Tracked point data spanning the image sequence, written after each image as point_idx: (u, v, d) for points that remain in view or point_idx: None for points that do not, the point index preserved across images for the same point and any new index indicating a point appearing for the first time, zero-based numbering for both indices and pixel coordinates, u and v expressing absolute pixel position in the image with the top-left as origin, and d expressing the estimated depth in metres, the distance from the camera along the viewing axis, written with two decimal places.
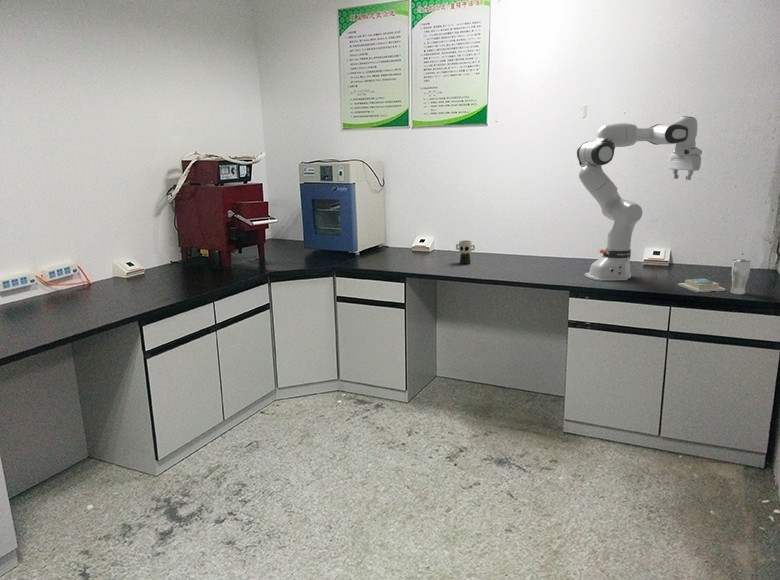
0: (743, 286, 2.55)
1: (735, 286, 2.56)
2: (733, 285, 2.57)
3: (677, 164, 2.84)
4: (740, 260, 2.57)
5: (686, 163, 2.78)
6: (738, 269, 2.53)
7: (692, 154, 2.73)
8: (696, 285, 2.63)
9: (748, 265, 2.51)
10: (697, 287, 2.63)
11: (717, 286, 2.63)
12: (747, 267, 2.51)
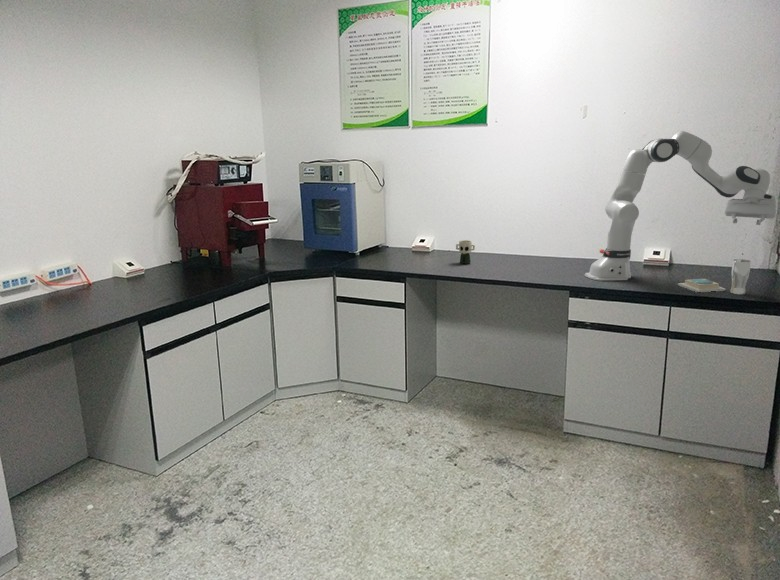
0: (743, 286, 2.55)
1: (735, 286, 2.56)
2: (733, 285, 2.57)
3: (745, 208, 2.65)
4: (740, 260, 2.57)
5: (762, 208, 2.61)
6: (738, 269, 2.53)
7: (774, 200, 2.60)
8: (696, 285, 2.63)
9: (748, 265, 2.51)
10: (697, 287, 2.63)
11: (717, 286, 2.63)
12: (747, 267, 2.51)
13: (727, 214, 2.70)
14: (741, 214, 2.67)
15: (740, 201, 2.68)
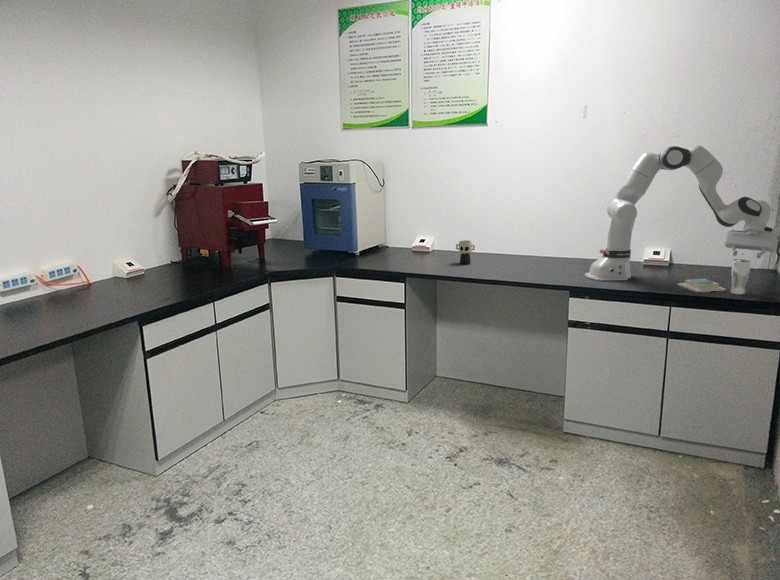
0: (743, 286, 2.55)
1: (735, 286, 2.56)
2: (733, 285, 2.57)
3: (745, 240, 2.63)
4: (740, 260, 2.57)
5: (762, 240, 2.58)
6: (738, 269, 2.53)
7: (774, 233, 2.57)
8: (696, 285, 2.63)
9: (748, 265, 2.51)
10: (697, 287, 2.63)
11: (717, 286, 2.63)
12: (747, 267, 2.51)
13: (727, 246, 2.68)
14: (741, 246, 2.64)
15: (740, 233, 2.66)
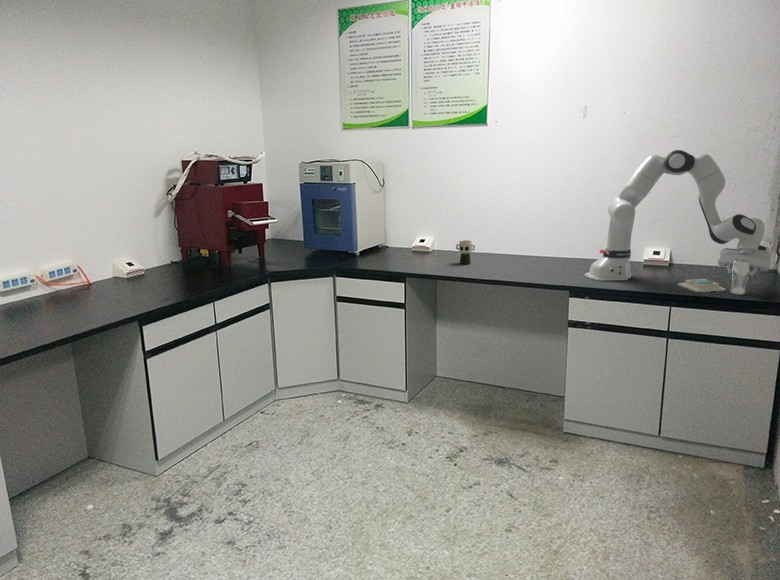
0: (743, 286, 2.55)
1: (735, 286, 2.56)
2: (733, 285, 2.57)
3: None
4: None
5: (756, 259, 2.54)
6: (738, 269, 2.53)
7: (768, 252, 2.52)
8: (696, 285, 2.63)
9: (748, 265, 2.51)
10: (697, 287, 2.63)
11: (717, 286, 2.63)
12: (747, 267, 2.51)
13: (720, 264, 2.63)
14: None
15: (734, 251, 2.61)
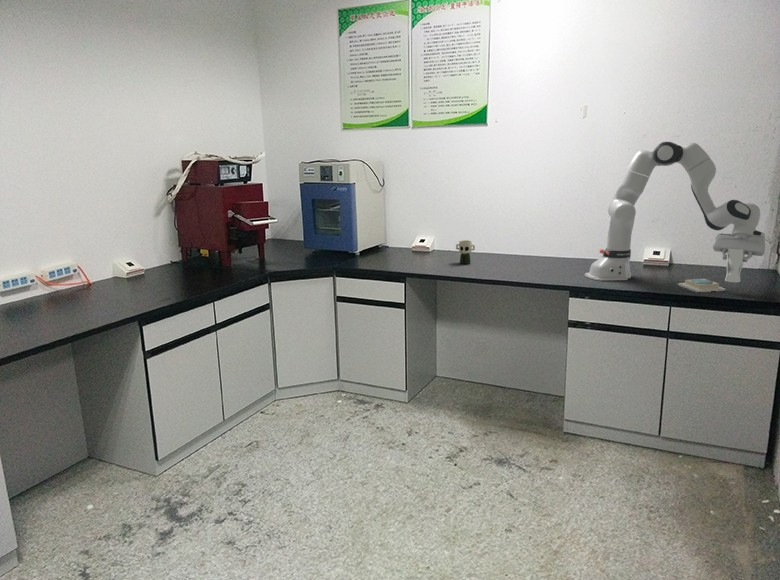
0: (737, 274, 2.54)
1: (730, 274, 2.56)
2: (728, 273, 2.57)
3: (734, 244, 2.58)
4: None
5: (751, 244, 2.53)
6: (732, 256, 2.53)
7: (763, 237, 2.52)
8: (696, 285, 2.63)
9: (742, 252, 2.52)
10: (697, 287, 2.63)
11: (717, 286, 2.63)
12: (741, 254, 2.52)
13: (715, 249, 2.63)
14: None
15: (729, 236, 2.61)
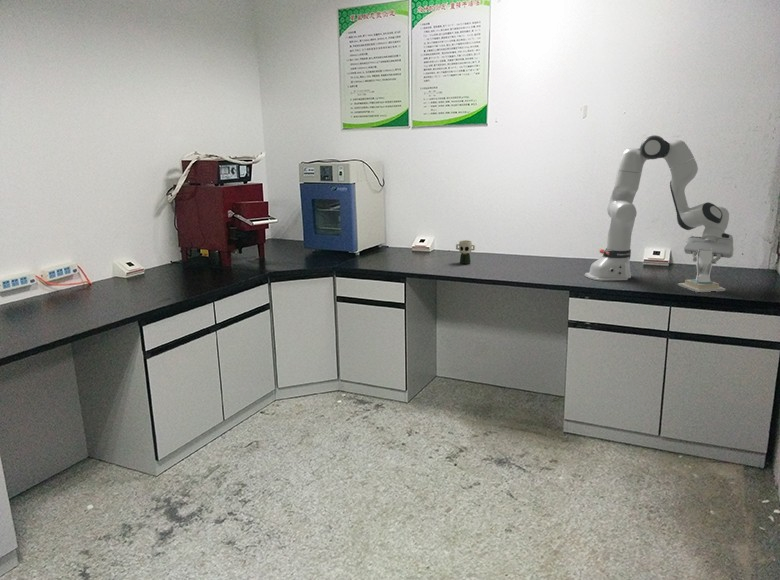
0: (707, 274, 2.63)
1: (700, 275, 2.64)
2: (698, 274, 2.65)
3: (703, 246, 2.66)
4: None
5: (720, 247, 2.62)
6: (702, 257, 2.61)
7: (731, 240, 2.61)
8: (696, 285, 2.63)
9: (711, 254, 2.60)
10: (697, 287, 2.63)
11: (717, 286, 2.63)
12: (710, 256, 2.60)
13: (686, 252, 2.71)
14: None
15: (699, 239, 2.69)
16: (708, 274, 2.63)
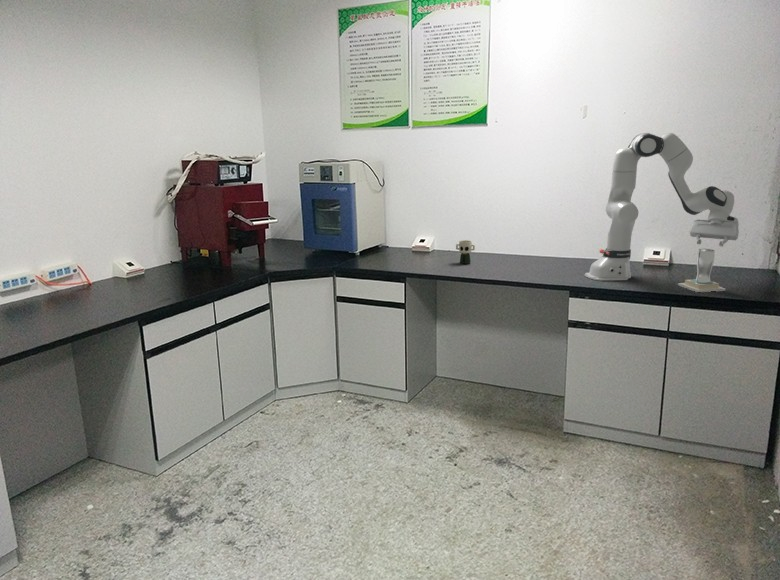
0: (707, 275, 2.63)
1: (700, 275, 2.64)
2: (698, 274, 2.65)
3: (709, 229, 2.69)
4: (705, 250, 2.65)
5: (725, 229, 2.65)
6: (702, 258, 2.61)
7: (736, 222, 2.64)
8: (696, 285, 2.63)
9: (712, 254, 2.60)
10: (697, 287, 2.63)
11: (717, 286, 2.63)
12: (711, 256, 2.60)
13: (692, 235, 2.74)
14: (705, 235, 2.71)
15: (704, 222, 2.72)
16: (708, 274, 2.63)
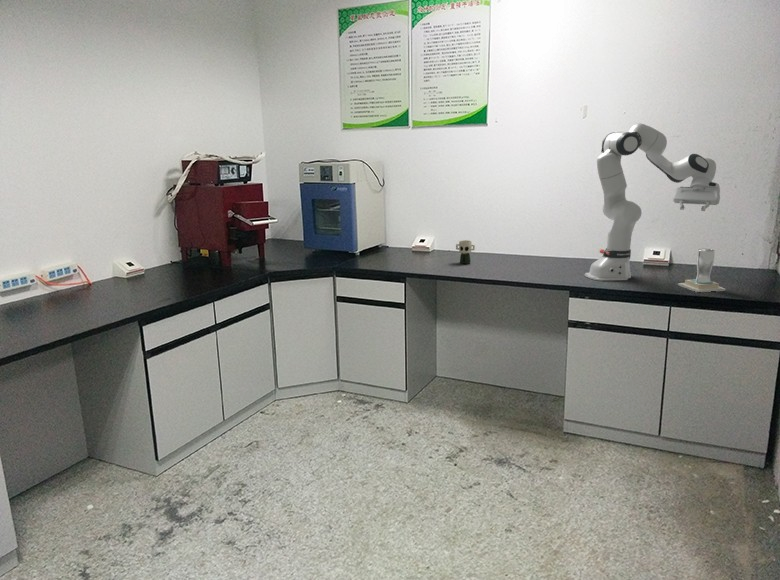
0: (707, 275, 2.63)
1: (700, 275, 2.64)
2: (698, 274, 2.65)
3: (691, 195, 2.79)
4: (705, 250, 2.65)
5: (707, 195, 2.75)
6: (702, 258, 2.61)
7: (718, 188, 2.74)
8: (696, 285, 2.63)
9: (712, 254, 2.60)
10: (697, 287, 2.63)
11: (717, 286, 2.63)
12: (711, 256, 2.60)
13: (675, 201, 2.84)
14: (688, 201, 2.81)
15: (687, 189, 2.82)
16: (708, 274, 2.63)
